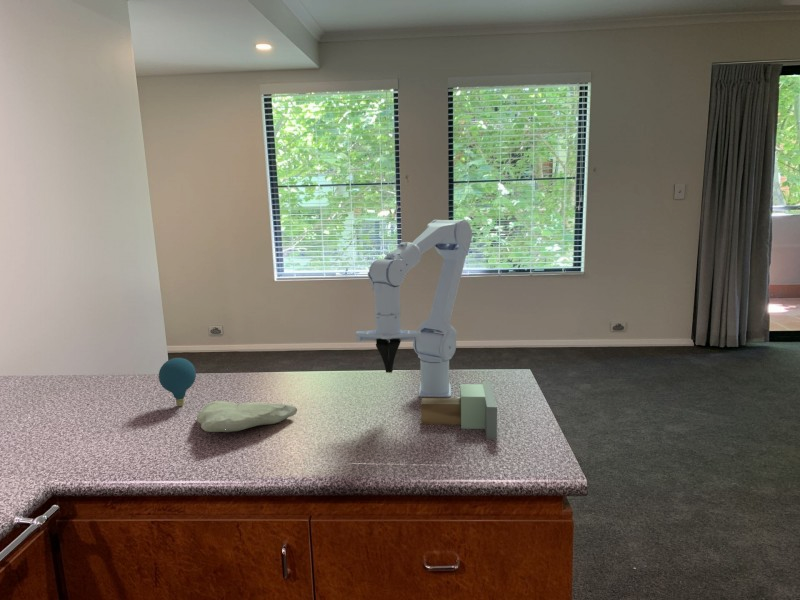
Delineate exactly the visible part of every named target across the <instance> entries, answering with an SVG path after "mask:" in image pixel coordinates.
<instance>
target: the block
mask: <svg viewBox="0 0 800 600" xmlns="http://www.w3.org/2000/svg"><path fill="white" fill-rule="evenodd" d="M459 398H461V425H460V427H461V428H460V429H463V430H465V429H467V430H473V429H474V430H475V429H476V430H485V393H484V388H483V384H482V383H481V384H480V383H479V384H478V383H476V384H475V383H474V384H473V383H472V384H471V383H464V384H463V383H460V384H459Z"/></svg>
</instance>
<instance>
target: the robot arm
mask: <svg viewBox="0 0 800 600" xmlns="http://www.w3.org/2000/svg"><path fill="white" fill-rule="evenodd" d="M473 235H474V234H473V231H472V228H471V224H470V223H469V221H468V220H466V219H433V220H432V221H431V222H429V223H428V224H427V225H426V229H425V230H424V231H423V232H421V233H420V235H419V236H417V237H416V238H415V239H414V240H413V241H412V242H409V241H404V242H403V241H402V242H401V241H400V243H398V247H397V248H395V249H394V250H392V251H391V252H388V253H386V256H385V257H384V258H377V259H375V260H374V261H373V262H372V263H371V264H370V267H369V269H368V272H367V277H368V280H369V282H370V283H371V290H372V292H373V293H374V295H373V296H374V321H375V322H374V324H375V325H374V327H375V329H373V330H372V329H371V330H357V331H356V332H355V342H361V341H364V342H365V341H375V342H376V343H375V347H376V349H377V351H378V352H379V354H380V357H381V358H382V361H383V365H384V369H385V373H386V374H387V373H388V374H389V373H390V374H392V373H393V371H394V369H393V368H394V364H395V363H394V362H395V359H396V354H397V352H398V350H399V347H400V344H401V341H406V342H407V341H412V347H413V350H414V352H415V354H417V358H419V359H420V361H419V362H420V383H419V390H418V397H421V398H452V388H451V387H452V384H451V383H450V360H452V358H453V356H454V355H455V353H456V349H457V335H458V332H457V330H456V329H455V327H454V326H453V325H452V323H451V320H452V316H453V310H454V308H455V307H454V306H455V303H456V299H457V294H458V291H459V287H460V282H461V279H462V274H463V270H464V266H465V261H466V257H467V256H468V254H469V251H470V246H471V243H472V238H473ZM432 248H434V249H435V251H436V252H437V253H438V255H440V256H441V257H442V258H443V261H442V266H441V270H440V273H439V274H440V275H439V278H438V282H437V284H436V285H437V286H436V290H435V294H434V297H433V302H432V305H431V311H430V314H429V318H427V319H426V320H424V321H423V322H421V323H420V324H419V327H418V330H408V329H407V330H406V329H402V325H401V324H402V322H401V321H402V319H401V317H402V316H401V315H402V314H401V285H402V284H403V283H404V281H405V279H406V276H407V274H408V272H409V271H410V270H412V269H413V268H414V267H415V266H417V265H418V264H419V263H420V262H421V259H422V255H423V254H424V253H425V252H427V251H429V250H430V249H432Z"/></svg>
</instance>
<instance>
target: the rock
mask: <svg viewBox="0 0 800 600" xmlns="http://www.w3.org/2000/svg"><path fill="white" fill-rule="evenodd" d="M297 413H298V408H297V407H296V406H295V405H293V404H285V403H268V402H260V401H253V402H244V403H243V402H242V403H234V402H230V401H227V400H226V401H225V400H215V401H212V402H208V403H206V404H205V405H204V406H203V407H202V409H201V410H200V411H199V413H198V414H197V415H196V419H197V423H199V424H200V427H201V429H202V430H203V431H205V432H209V433H210V432H211V433H219V432H220V433H222V432H223V433H231V432H240V431H243V430H246V429H249V428H253V427H256V426H257V427H258V426H264V425H274V424H279V423H281V422H282V421H284V420H286V419H288V418H291V417H293V416H295V415H296V414H297ZM225 429H226V430H225Z"/></svg>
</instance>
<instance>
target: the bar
mask: <svg viewBox="0 0 800 600" xmlns="http://www.w3.org/2000/svg"><path fill="white" fill-rule="evenodd" d="M420 410H421V411H420V412H421V414H420V415H421V416H420V417H421V418H420V419H421V425H460V426H461V398H460V397H458V398H456V397H455V398H454V397H453V398H452V397H421V404H420Z"/></svg>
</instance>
